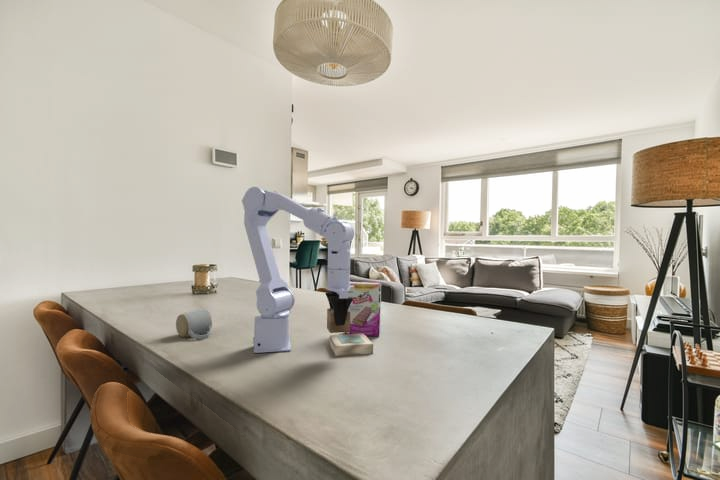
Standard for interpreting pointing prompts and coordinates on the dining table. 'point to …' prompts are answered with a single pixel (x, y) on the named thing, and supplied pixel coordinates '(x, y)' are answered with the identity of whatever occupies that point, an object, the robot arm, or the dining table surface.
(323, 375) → the dining table surface
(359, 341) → the base
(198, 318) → the ceramic mug
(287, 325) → the robot arm
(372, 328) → the candy bar box
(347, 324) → the walnut cube
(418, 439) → the dining table surface
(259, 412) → the dining table surface
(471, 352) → the dining table surface
